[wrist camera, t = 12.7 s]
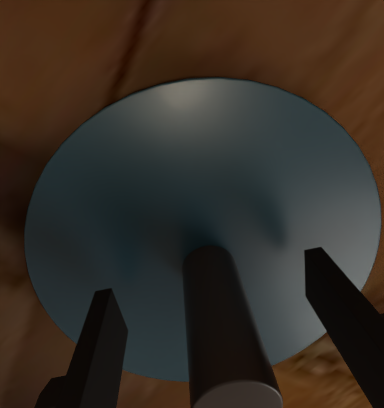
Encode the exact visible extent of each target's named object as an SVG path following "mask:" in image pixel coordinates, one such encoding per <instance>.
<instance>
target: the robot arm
mask: <svg viewBox="0 0 384 408" xmlns="http://www.w3.org/2000/svg"><path fill="white" fill-rule="evenodd" d="M304 257H305V296H306V298H307V300H308V301H309V303H310V305H311V306H312V308H313V310H314V311H315V313H316V315H317V316H318V318H319V320H320V321H321V323H322V324H323V326H324V328H325V329H326V331H327V333H328V334H329V336H330V338H331V339H332V341H333V343H334V344H335V346H336V348H337V349H338V351H339V352H340V354H341V356H342V357H343V359H344V361H345V362H346V364H347V366H348V367H349V369H350V371H351V372H352V374H353V376H354V377H355V379H356V380H357V382H358V384H359V385H360V387H361V389H362V390H363V392H364V394H365V395H366V397H367V399H368V400H369V402H370V404H371V405H372V407H373V408H384V313H383V314H379V312H378V311H377V310H376V309H375V308H374V307H373V306H372V304H371V303H370V302H369V301H368V300H367V299H366V298H365V296H364V295H363V294H362V293H361V292H360V291H359V290H358V288H357V287H356V286H355V285H354V284H353V283H352V281H351V280H350V279H349V278H348V277H347V276H346V275H345V273H344V272H343V271H342V270H341V269H340V268H339V267H338V265H337V264H336V263H335V262H334V261H333V260H332V259H331V257H330V256H329V255H328V254H327V253H326V252H325V251H324V249H323V248H322V247H317V248H312V249H307V250H304ZM127 337H128V328H127V326H126V323H125V321H124V318H123V316H122V313H121V311H120V308H119V306H118V303H117V301H116V298H115V295H114V293H113V290H112V288H109V289H104V290H99V291H95V293H94V296H93V299H92V302H91V304H90V307H89V310H88V313H87V316H86V319H85V322H84V325H83V328H82V331H81V334H80V337H79V339H78V342H77V345H76V348H75V351H74V354H73V357H72V360H71V363H70V366H69V369H68V372H67V374H66V376H61V377H56V378H51V380H50V381H49V382H48V384H47V385H46V386H45V388H44V389H43V390H42V392H41V393H40V395H39V397H38V400H37V402H36V405H35V407H34V408H116V405H117V399H118V392H119V386H120V380H121V374H122V368H123V361H124V355H125V349H126V343H127Z"/></svg>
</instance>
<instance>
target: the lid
mask: <svg viewBox="0 0 384 408" xmlns="http://www.w3.org/2000/svg"><path fill="white" fill-rule="evenodd" d="M380 233H381V204H380V199H379V193H378V188H377V184H376V182H375V179H374V176H373V173H372V171H371V168H370V165H369V164H368V162H367V160H366V158H365V157H364V155H363V153H362V151H361V150H360V148H359V146H358V145H357V144H356V142H355V141H354V140H353V139H352V138H351V136H350V135H349V134H348V133H347V131H346V130H345V129H344V128H343V127H342V126H341V125H340V124H339V123H337V122H336V121H335V120H334V119H333V118H332V117H331V116H329V115H328V114H327V113H326V112H325V111H323V110H322V109H320V108H318V107H317V106H315V105H314V104H312V103H310V102H309V101H307V100H306V99H304V98H302V97H300V96H297V95H295V94H293V93H290V92H288V91H286V90H283V89H281V88H278V87H275V86H271V85H267V84H263V83H259V82H255V81H251V80H245V79H234V78H224V77H205V78H188V79H182V80H177V81H172V82H167V83H162V84H158V85H155V86H152V87H149V88H146V89H143V90H141V91H138V92H135V93H132V94H130V95H128V96H126V97H124V98H122V99H120V100H118V101H117V102H115V103H113V104H111V105H109V106H107V107H105V108H104V109H102V110H101V111H99V112H98V113H97V114H95V115H94V116H92V117H91V118H90V119H88V120H87V121H85V122H84V123H83V124H81V125H80V126H79V127H78V128H77V129H76V130H75V131H74V132H73V133H72V134H71V135H70V136H69V137H68V138H67V139H66V140H65V141H64V142H63V143H62V144H61V145H60V147H59V148H58V149H57V151H56V152H55V153H54V155H53V156H52V157H51V159H50V160H49V161H48V163H47V164H46V166H45V168H44V170H43V172H42V174H41V175H40V177H39V179H38V181H37V183H36V185H35V187H34V190H33V194H32V197H31V200H30V203H29V206H28V209H27V216H26V222H25V229H24V249H25V257H26V263H27V269H28V273H29V276H30V279H31V282H32V285H33V288H34V290H35V292H36V294H37V296H38V298H39V300H40V302H41V304H42V306H43V308H44V309H45V310H46V312H47V313H48V314H49V316H50V317H51V319H52V320H53V321H54V323H55V324H56V325H57V326H58V327H59V328H60V329H61V330H62V331H63V332H64V333H65V334H66V335H67V336H68V337H69V338H70V339H71V340H72V341H74V342H75V343H76V344H77V342H78V339H79V337H80V334H81V331H82V328H83V325H84V322H85V319H86V316H87V313H88V310H89V307H90V304H91V302H92V299H93V296H94V293H95V291H99V290H104V289H109V288H112V290H113V293H114V295H115V298H116V301H117V303H118V306H119V308H120V311H121V313H122V316H123V318H124V321H125V323H126V326H127V328H128V337H127V343H126V349H125V355H124V361H123V368H122V369H123V370H125V371H128V372H131V373H135V374H138V375H142V376H146V377H150V378H156V379H162V380H171V381H189V389H190V405H191V408H282V407H283V399H282V395H281V393H280V390H279V387H278V384H277V381H276V378H275V375H274V372H273V369H272V367H271V366H272V365H274V364H276V363H279V362H281V361H283V360H285V359H287V358H289V357H291V356H293V355H294V354H296V353H298V352H300V351H301V350H303V349H305V348H306V347H307V346H309V345H310V344H312V343H313V342H314V341H316V340H317V339H319V338H320V337H321V336H322V335H323V334H325V333H326V332H327V331H326V329H325V328H324V326H323V324H322V323H321V321H320V320H319V318H318V316H317V315H316V313H315V311H314V310H313V308H312V306H311V305H310V303H309V301H308V300H307V298H306V296H305V257H304V250H307V249H312V248H317V247H322V248H323V249H324V251H325V252H326V253H327V254H328V255H329V256H330V257H331V259H332V260H333V261H334V262H335V263H336V264H337V265H338V267H339V268H340V269H341V270H342V271H343V272H344V273H345V275H346V276H347V277H348V278H349V279H350V280H351V281H352V283H353V284H354V285H355V286H356V287H357V288H358V290H359V291H360V292H361V290H362V288H363V287H364V285H365V283H366V281H367V279H368V277H369V274H370V272H371V270H372V267H373V265H374V262H375V258H376V255H377V251H378V247H379V242H380Z"/></svg>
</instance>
